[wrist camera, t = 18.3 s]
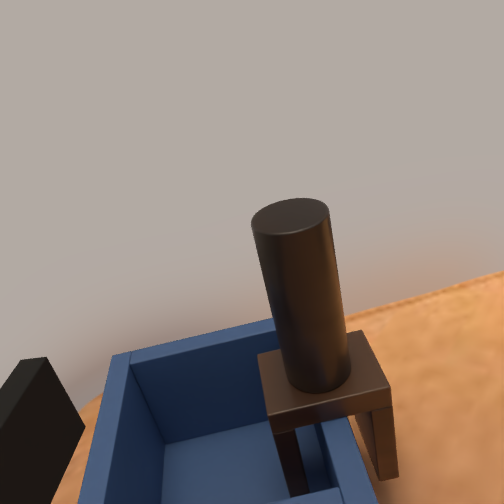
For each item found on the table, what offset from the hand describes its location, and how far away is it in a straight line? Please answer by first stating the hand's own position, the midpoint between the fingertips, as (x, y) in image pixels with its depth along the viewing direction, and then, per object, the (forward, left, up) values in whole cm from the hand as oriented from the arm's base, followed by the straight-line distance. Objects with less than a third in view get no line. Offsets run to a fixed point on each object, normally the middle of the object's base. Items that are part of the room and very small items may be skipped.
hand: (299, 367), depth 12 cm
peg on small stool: (-1, -7, -13) cm, 15 cm away
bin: (+4, -7, -16) cm, 18 cm away
